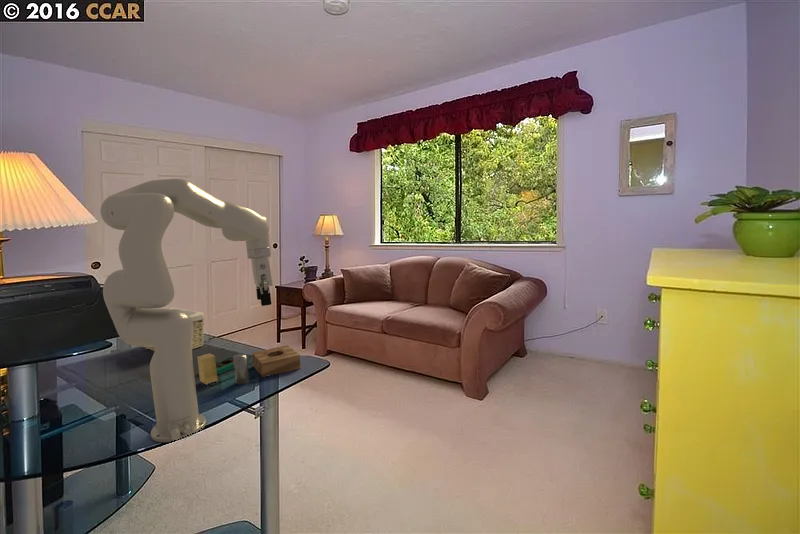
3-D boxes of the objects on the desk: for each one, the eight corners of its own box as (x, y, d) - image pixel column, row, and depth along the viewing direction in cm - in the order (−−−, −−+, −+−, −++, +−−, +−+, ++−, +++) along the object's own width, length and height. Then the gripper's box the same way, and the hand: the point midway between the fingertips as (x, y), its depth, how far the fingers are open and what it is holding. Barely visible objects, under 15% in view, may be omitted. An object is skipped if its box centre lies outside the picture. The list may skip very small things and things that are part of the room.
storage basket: (140, 349, 172) (135, 314, 170) (178, 338, 186) (174, 306, 184) (170, 358, 160) (166, 321, 158) (209, 345, 173) (205, 311, 171)
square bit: (217, 381, 135) (215, 355, 134) (205, 386, 132) (202, 359, 131) (212, 378, 138) (209, 353, 136) (200, 382, 135) (197, 356, 133)
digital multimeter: (250, 364, 151) (249, 356, 151) (213, 378, 139) (212, 370, 138) (237, 360, 155) (237, 353, 155) (200, 374, 143) (199, 366, 142)
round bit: (250, 382, 133) (247, 356, 132) (237, 386, 131) (234, 359, 130) (247, 378, 136) (244, 352, 135) (234, 381, 134) (231, 355, 133)
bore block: (300, 368, 144) (299, 354, 143) (262, 377, 137) (261, 363, 136) (288, 357, 155) (287, 345, 154) (253, 366, 148) (252, 352, 147)
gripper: (274, 254, 133) (280, 305, 136) (266, 249, 148) (271, 295, 151) (250, 257, 129) (256, 309, 132) (244, 251, 145) (249, 298, 148)
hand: (264, 302), depth 142 cm, fingers open, 9 cm apart
